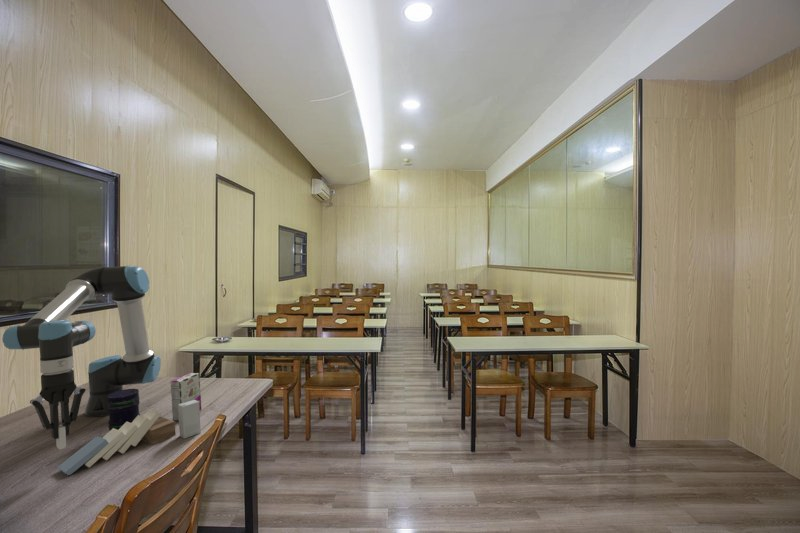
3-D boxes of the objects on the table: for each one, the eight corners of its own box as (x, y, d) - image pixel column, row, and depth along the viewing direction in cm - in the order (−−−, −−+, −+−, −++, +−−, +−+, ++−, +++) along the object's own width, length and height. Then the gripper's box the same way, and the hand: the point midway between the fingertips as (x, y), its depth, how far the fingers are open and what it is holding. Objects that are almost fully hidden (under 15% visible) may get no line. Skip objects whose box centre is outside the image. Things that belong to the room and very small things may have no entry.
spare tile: (57, 467, 117) (97, 435, 126) (60, 471, 118) (100, 439, 127) (65, 472, 114) (105, 439, 123) (68, 476, 115) (108, 443, 124)
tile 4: (122, 440, 133) (148, 408, 140) (126, 442, 134) (152, 411, 141) (131, 444, 130) (157, 411, 137) (135, 446, 131) (161, 414, 138)
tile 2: (94, 453, 126) (126, 421, 134) (98, 456, 127) (130, 424, 135) (102, 457, 123) (135, 424, 131) (106, 460, 124) (138, 427, 132)
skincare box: (196, 430, 144) (195, 398, 144) (201, 433, 142) (199, 401, 141) (178, 436, 140) (177, 403, 139) (183, 439, 137) (182, 406, 137)
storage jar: (106, 440, 138) (104, 399, 138) (112, 429, 147) (110, 391, 147) (138, 433, 143) (137, 394, 143) (142, 423, 152) (140, 386, 151)
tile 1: (77, 459, 122) (113, 428, 130) (80, 463, 123) (116, 431, 131) (85, 464, 119) (121, 431, 127) (89, 467, 120) (125, 435, 128)
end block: (138, 438, 139) (137, 424, 139) (160, 429, 146) (160, 416, 146) (152, 444, 134) (151, 430, 134) (175, 434, 141) (174, 421, 141)
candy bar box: (191, 409, 165) (190, 372, 164) (201, 410, 164) (200, 372, 163) (171, 420, 154) (169, 380, 153) (182, 421, 153) (180, 381, 152)
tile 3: (110, 447, 130) (138, 414, 137) (114, 449, 131) (141, 417, 138) (119, 451, 127) (146, 417, 134) (123, 453, 128) (150, 420, 135)
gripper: (33, 379, 108) (37, 460, 109) (88, 367, 119) (92, 440, 120) (24, 375, 112) (28, 454, 112) (78, 364, 123) (82, 435, 124)
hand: (61, 447), depth 116 cm, fingers closed
